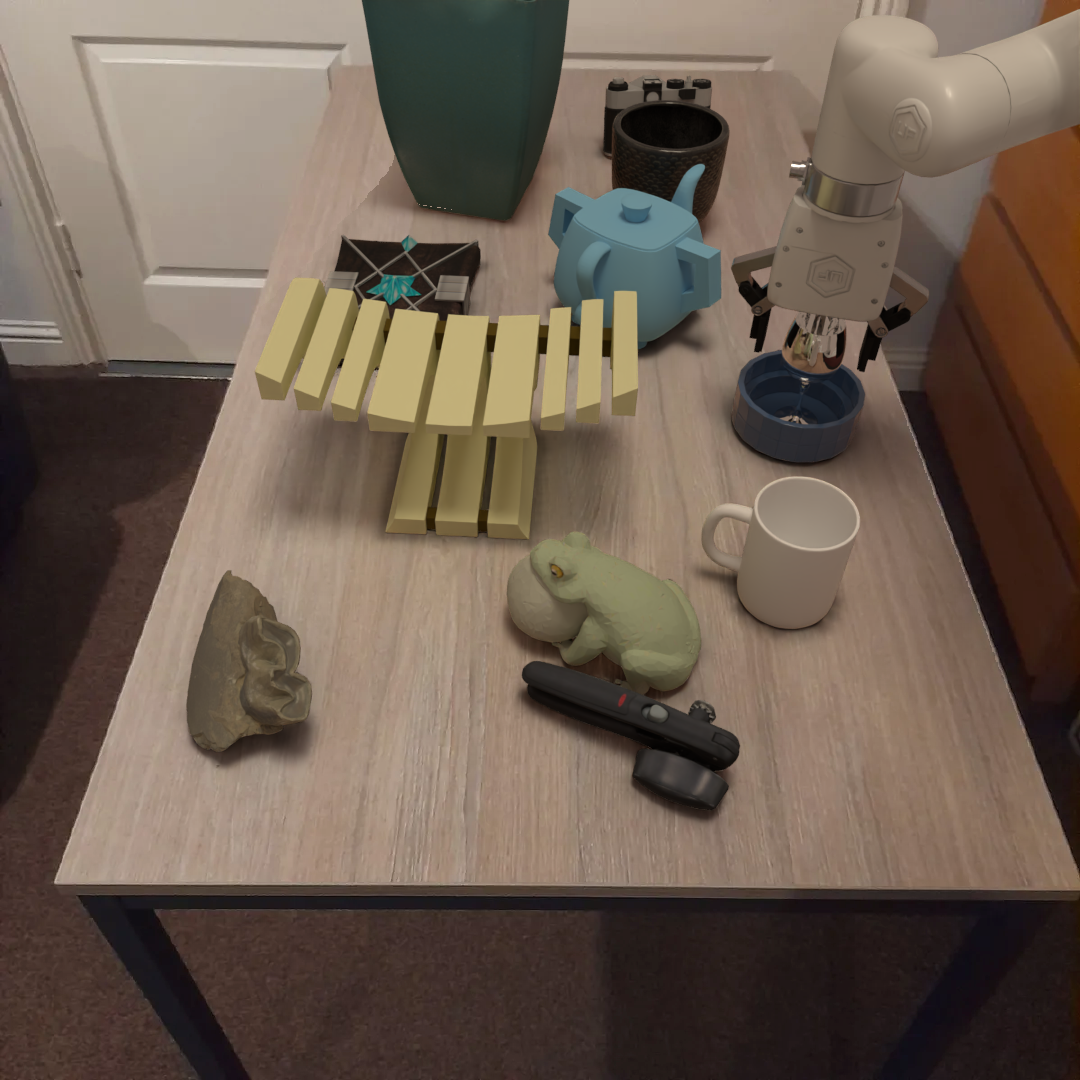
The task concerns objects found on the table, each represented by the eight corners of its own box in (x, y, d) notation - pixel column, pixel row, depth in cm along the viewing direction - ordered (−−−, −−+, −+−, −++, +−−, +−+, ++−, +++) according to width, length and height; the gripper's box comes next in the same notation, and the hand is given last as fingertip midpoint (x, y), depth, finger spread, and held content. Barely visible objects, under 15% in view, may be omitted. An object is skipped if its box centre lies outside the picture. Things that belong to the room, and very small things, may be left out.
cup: (824, 643, 83) (852, 562, 76) (683, 604, 86) (697, 522, 78) (838, 572, 88) (866, 490, 81) (705, 538, 91) (721, 455, 84)
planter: (737, 223, 129) (753, 124, 119) (669, 265, 122) (681, 163, 112) (652, 185, 135) (662, 89, 126) (584, 223, 128) (588, 124, 119)
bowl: (858, 401, 104) (870, 362, 101) (846, 478, 97) (859, 439, 93) (741, 378, 107) (749, 340, 103) (721, 452, 99) (728, 413, 95)
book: (460, 376, 107) (457, 337, 103) (303, 368, 107) (295, 330, 104) (481, 265, 121) (480, 228, 118) (344, 259, 122) (338, 222, 118)
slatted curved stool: (622, 428, 101) (636, 274, 88) (622, 543, 90) (637, 388, 77) (328, 414, 102) (299, 260, 89) (293, 527, 91) (254, 371, 78)
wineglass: (754, 418, 102) (776, 318, 93) (792, 395, 104) (816, 296, 95) (798, 447, 99) (825, 347, 90) (836, 423, 101) (865, 323, 92)
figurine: (534, 565, 89) (534, 484, 81) (713, 626, 84) (730, 546, 77) (483, 650, 82) (479, 570, 75) (674, 720, 78) (689, 643, 70)
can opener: (748, 757, 76) (761, 716, 71) (709, 830, 72) (720, 791, 67) (548, 656, 82) (549, 613, 78) (502, 717, 78) (500, 675, 74)
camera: (694, 135, 148) (700, 62, 142) (710, 156, 139) (717, 78, 133) (596, 138, 147) (598, 64, 141) (605, 159, 139) (608, 81, 133)
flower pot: (569, 168, 138) (577, -61, 118) (533, 242, 125) (534, -1, 104) (432, 150, 141) (415, -76, 121) (382, 221, 128) (354, -19, 108)
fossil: (344, 715, 81) (322, 709, 71) (222, 772, 79) (182, 774, 70) (277, 558, 83) (247, 531, 73) (158, 611, 82) (111, 591, 72)
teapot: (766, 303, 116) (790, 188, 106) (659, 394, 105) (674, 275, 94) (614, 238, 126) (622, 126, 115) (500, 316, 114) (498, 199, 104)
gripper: (740, 189, 82) (712, 359, 94) (960, 223, 78) (901, 395, 91) (755, 148, 87) (726, 315, 99) (962, 178, 83) (906, 347, 96)
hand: (810, 353), depth 95 cm, fingers open, 9 cm apart
